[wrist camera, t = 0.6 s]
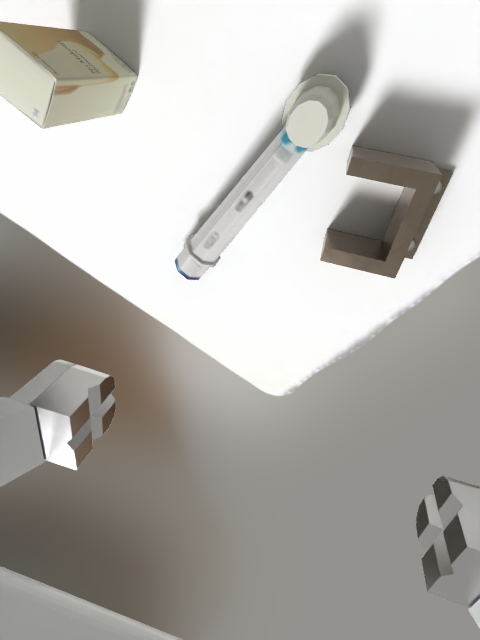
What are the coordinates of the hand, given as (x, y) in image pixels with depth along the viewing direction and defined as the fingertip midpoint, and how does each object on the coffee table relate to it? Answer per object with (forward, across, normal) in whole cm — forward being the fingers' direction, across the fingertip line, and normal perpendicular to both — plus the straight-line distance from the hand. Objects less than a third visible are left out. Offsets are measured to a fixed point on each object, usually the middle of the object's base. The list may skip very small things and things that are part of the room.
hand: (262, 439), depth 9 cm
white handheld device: (+35, +8, +1) cm, 36 cm away
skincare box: (+33, +25, -7) cm, 42 cm away
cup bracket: (+34, -5, 0) cm, 35 cm away
